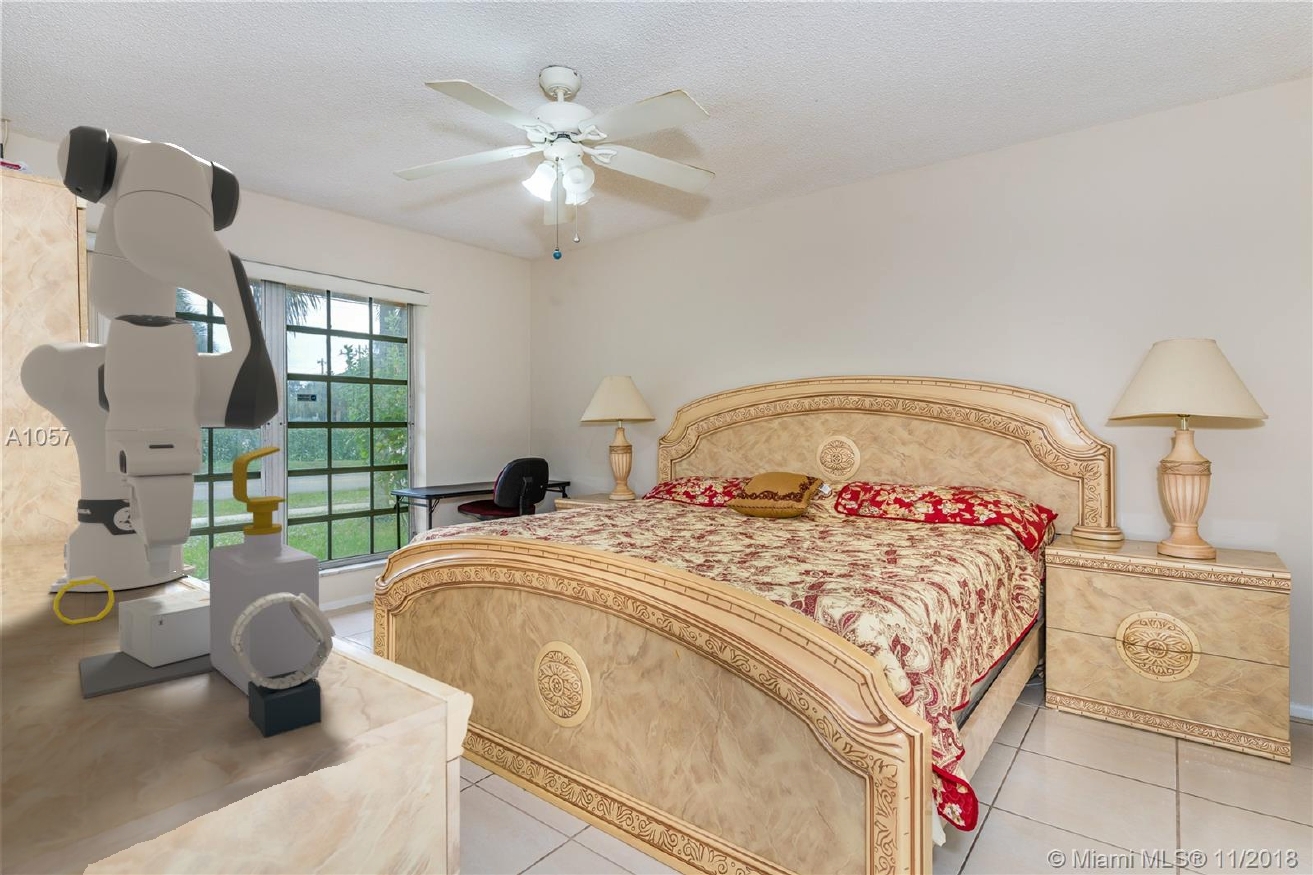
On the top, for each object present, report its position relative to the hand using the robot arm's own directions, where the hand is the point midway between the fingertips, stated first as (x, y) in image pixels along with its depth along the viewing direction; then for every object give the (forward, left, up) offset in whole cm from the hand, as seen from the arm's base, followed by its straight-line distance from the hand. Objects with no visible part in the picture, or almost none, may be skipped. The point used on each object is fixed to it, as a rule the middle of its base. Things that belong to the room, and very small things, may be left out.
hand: (158, 575), depth 76 cm
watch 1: (-21, -6, -9) cm, 24 cm away
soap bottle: (+17, +7, -9) cm, 20 cm away
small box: (-3, 0, -6) cm, 6 cm away
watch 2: (+30, +6, -9) cm, 32 cm away
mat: (+5, 0, -9) cm, 10 cm away
